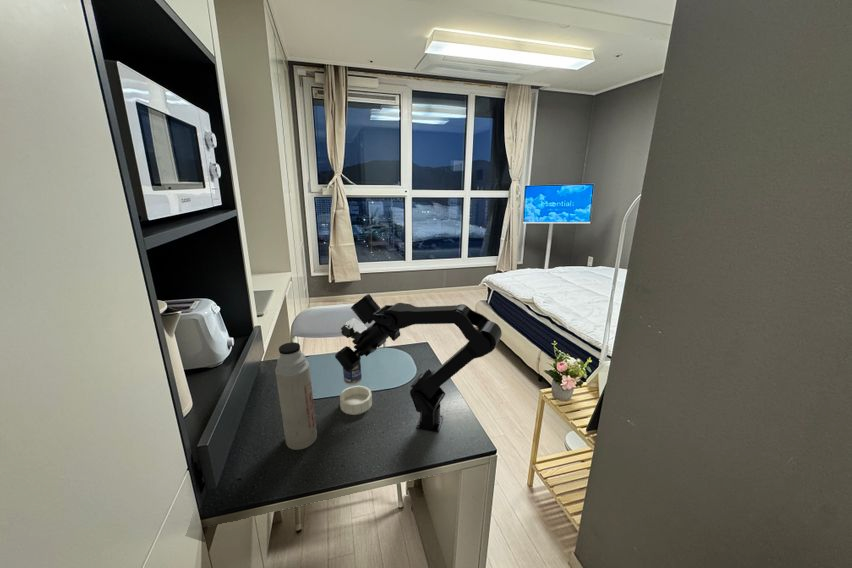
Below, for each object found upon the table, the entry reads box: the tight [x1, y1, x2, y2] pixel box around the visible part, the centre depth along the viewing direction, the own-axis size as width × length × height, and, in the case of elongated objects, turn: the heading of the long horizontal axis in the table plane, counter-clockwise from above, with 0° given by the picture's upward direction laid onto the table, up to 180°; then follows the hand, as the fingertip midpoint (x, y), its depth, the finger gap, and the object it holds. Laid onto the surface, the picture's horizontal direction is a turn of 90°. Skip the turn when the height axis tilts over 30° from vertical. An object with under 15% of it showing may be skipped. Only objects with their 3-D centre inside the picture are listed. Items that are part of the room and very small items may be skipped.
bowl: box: [339, 385, 373, 416], centre depth 107 cm, size 10×10×4 cm
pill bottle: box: [342, 349, 362, 386], centre depth 107 cm, size 5×5×10 cm
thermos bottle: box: [274, 341, 318, 451], centre depth 90 cm, size 8×8×28 cm
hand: (347, 361), depth 107 cm, fingers closed on pill bottle, 5 cm apart
